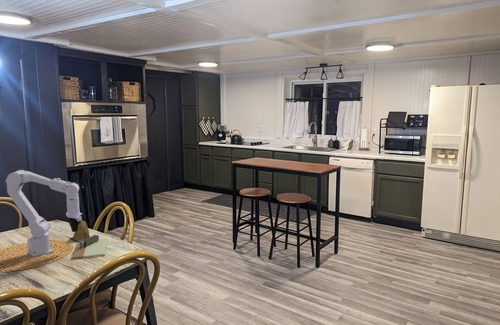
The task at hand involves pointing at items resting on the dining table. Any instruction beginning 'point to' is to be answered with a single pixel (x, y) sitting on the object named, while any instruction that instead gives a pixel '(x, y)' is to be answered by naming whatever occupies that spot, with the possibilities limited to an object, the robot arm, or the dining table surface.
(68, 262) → the dining table surface
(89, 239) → the latch bar
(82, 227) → the rock
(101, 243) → the door board
